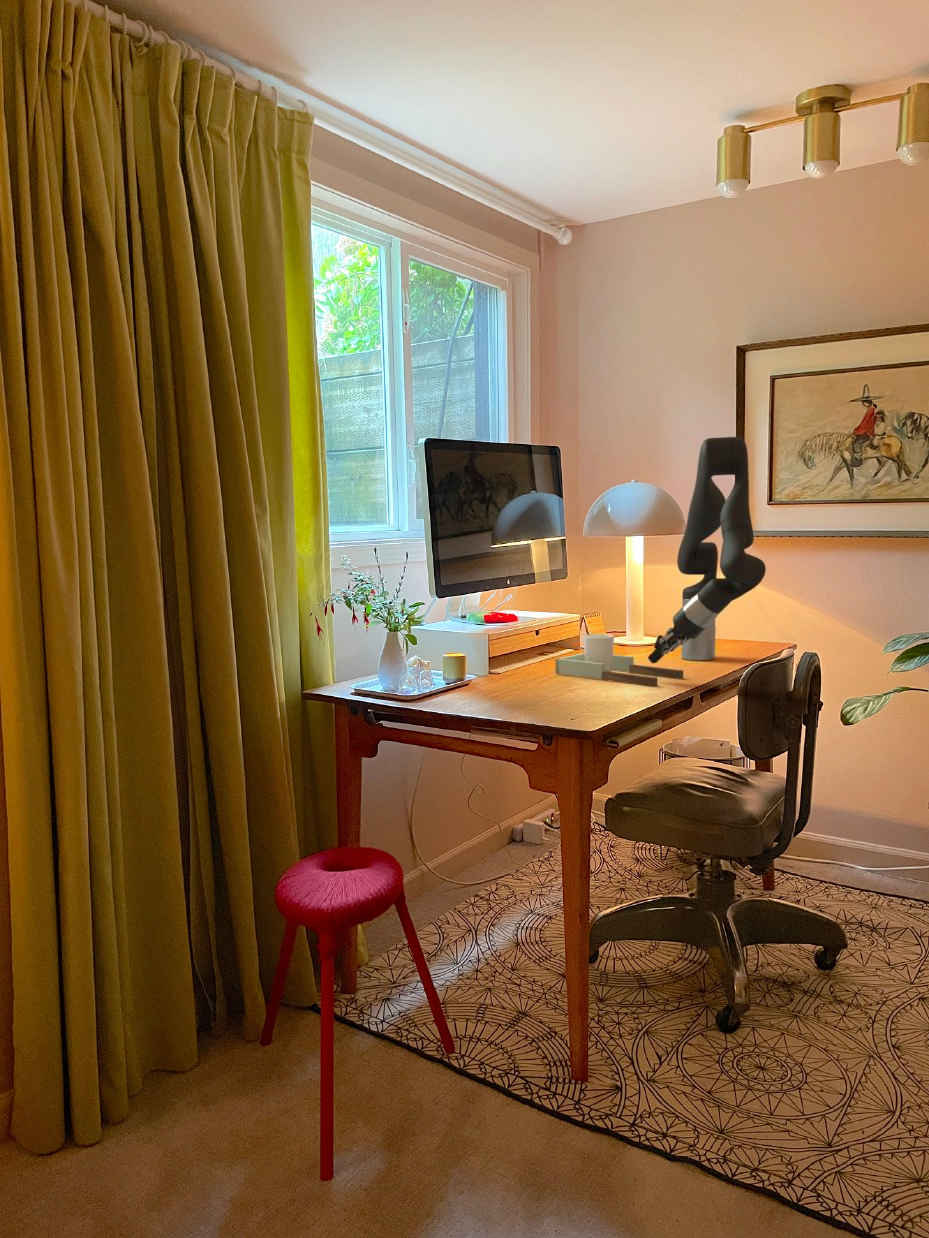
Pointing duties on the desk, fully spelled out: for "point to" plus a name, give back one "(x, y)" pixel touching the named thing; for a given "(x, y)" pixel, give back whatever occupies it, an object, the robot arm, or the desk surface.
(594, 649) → the white cup
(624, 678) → the channel
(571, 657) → the tray
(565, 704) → the desk surface
